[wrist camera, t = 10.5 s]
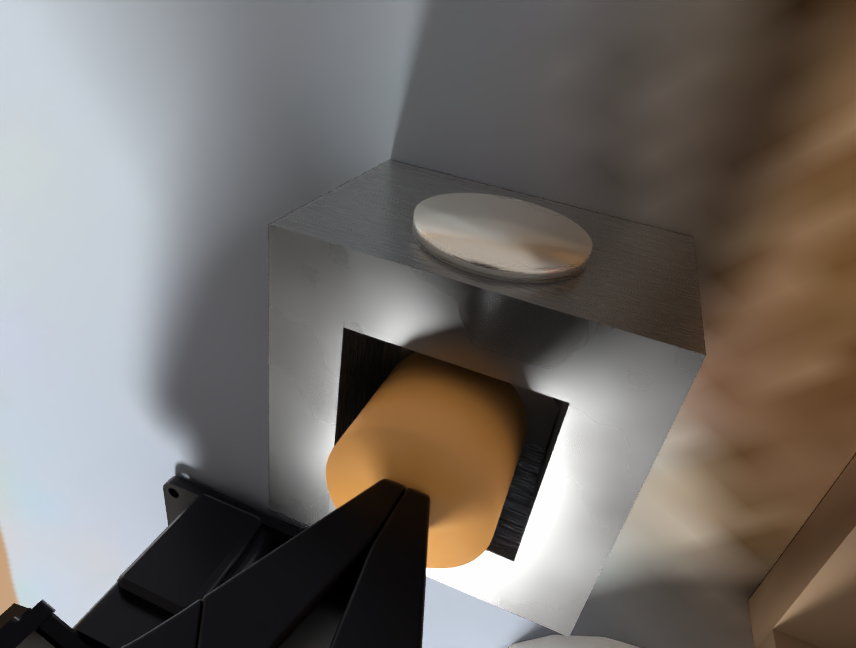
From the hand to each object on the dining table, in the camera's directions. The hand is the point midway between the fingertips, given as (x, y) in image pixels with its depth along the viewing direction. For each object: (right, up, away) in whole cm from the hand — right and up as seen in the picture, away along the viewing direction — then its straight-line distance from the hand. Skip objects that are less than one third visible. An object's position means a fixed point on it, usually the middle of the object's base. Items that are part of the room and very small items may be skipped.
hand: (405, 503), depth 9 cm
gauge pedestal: (+2, +3, +5) cm, 6 cm away
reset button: (+2, +2, +4) cm, 4 cm away
